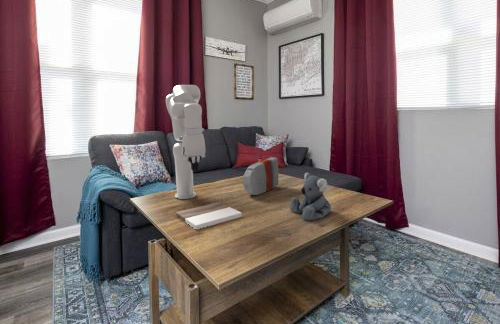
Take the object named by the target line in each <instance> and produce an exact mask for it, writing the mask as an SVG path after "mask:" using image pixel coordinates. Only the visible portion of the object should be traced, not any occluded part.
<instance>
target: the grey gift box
mask: <svg viewBox="0 0 500 324" xmlns="http://www.w3.org/2000/svg"><path fill="white" fill-rule="evenodd" d="M278 159H279V158H277V157H272V156H271V157H268V158H266V159H262V160H259V161H258V162H255V163H253V164H250V165H249V166H248V167H247V169H245V172H244V174H243V177H242V178H243V180H242V184H243V188H244V192H246V193H247V194H249V195H253V196H258V195H262V194H263V193H265V192H266V193H267V192H270V191H271V190H272V188H275V187H277V186H278V185H279V162H278V161H279V160H278Z"/></svg>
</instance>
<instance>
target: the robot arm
mask: <svg viewBox="0 0 500 324" xmlns="http://www.w3.org/2000/svg"><path fill="white" fill-rule="evenodd" d="M200 99H201V91H200V87H198V86H197V84H196V85H195V84H178V85H175V86H174V87H173V89H172V93H171V94H170V93H169V94H168V95H167V96H166V97H165V105H166V109H167V112H168V115H169V116H170V119H171V124H172V125H171V126H172V133H173V134H172V135H173V137H174V140H175V141H177V143H175V144H174V145H173V146H172V153H173V154H172V155H173V158H174V167H175V183H176V184H175V185H176V193H174V198H175V199H177V198H178V200H188V199H189V198H190V199H193V198H195V197H197V193H196V192H195V191H194V172H198V171H199V163H200V160H202V159H203V158H206V142H205V137H204V134H203V132H205V128H203V125H202V124H203V121H202V114H203V113H202V112H203V109H202V108H203V107H202V106H201V104H199V101H200Z"/></svg>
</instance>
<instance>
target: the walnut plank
mask: <svg viewBox="0 0 500 324" xmlns="http://www.w3.org/2000/svg"><path fill="white" fill-rule="evenodd" d="M228 207H229V206H228V205H226V204H224V203H222V202H219V201H217V202H211V203H209V204H208V203H207V204H205V205H200V206H195V207H192V208H186V209H183V210H179V211H175V217H176V216H177V219H179V218H180V219H179V220H181V221H182V220H183V221H184V223H185V218H189V217H193V216H197V215H201V214H205V213H209V212H213V211H216V210H220V209H224V208H228ZM183 221H182V222H183Z"/></svg>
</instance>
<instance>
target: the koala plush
mask: <svg viewBox="0 0 500 324" xmlns="http://www.w3.org/2000/svg"><path fill="white" fill-rule="evenodd" d="M303 179H304V183H303V185H302V187H301V191H300V192H301V194H302V195H303V196H304V197H303V199H302V200H301V202H300V200H299V198H298V197H292V198H291V201H290V204H289V209H290V211H292V212H293V213H296V214H301V218H302V219H303V221H314V220H317V219H323V218H325V216H327V215H328V214H329V213H330V211H331V209H332V206H331V203H330V202H329V200H327V198H326V197H325V195H324V192H325V191H326V190H327V189H328V181H327V179H324V177H323V178H321V177H319V176H317V175H312V174H311V173H309V172H308V171H307V172H305V173H304V178H303Z"/></svg>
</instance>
